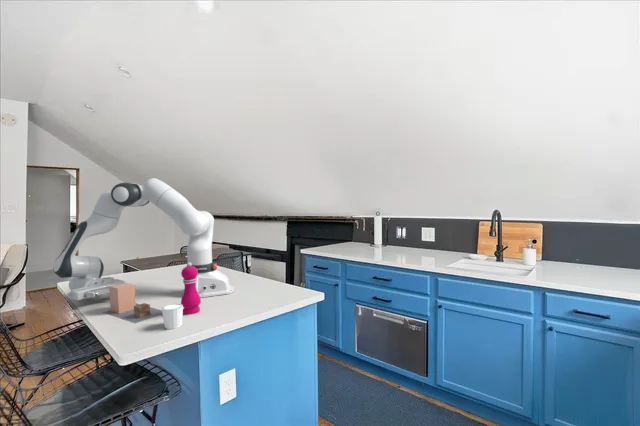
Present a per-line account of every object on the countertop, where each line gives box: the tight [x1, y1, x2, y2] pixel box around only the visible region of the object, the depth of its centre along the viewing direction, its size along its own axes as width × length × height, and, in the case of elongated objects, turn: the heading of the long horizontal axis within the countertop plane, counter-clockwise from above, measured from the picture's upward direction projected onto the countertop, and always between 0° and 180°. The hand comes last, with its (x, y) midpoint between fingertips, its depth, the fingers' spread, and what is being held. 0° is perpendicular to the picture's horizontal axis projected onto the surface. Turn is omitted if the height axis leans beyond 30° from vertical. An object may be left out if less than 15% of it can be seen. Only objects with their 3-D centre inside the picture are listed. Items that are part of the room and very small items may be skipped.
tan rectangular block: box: [109, 282, 136, 313], centre depth 136 cm, size 7×7×10 cm
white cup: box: [161, 303, 184, 330], centre depth 118 cm, size 7×7×7 cm
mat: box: [103, 302, 163, 324], centre depth 133 cm, size 24×13×1 cm, turn 57°
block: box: [134, 302, 151, 318], centre depth 128 cm, size 4×4×4 cm
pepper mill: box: [180, 261, 202, 316], centre depth 131 cm, size 7×7×20 cm
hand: (107, 292), depth 142 cm, fingers open, 8 cm apart
